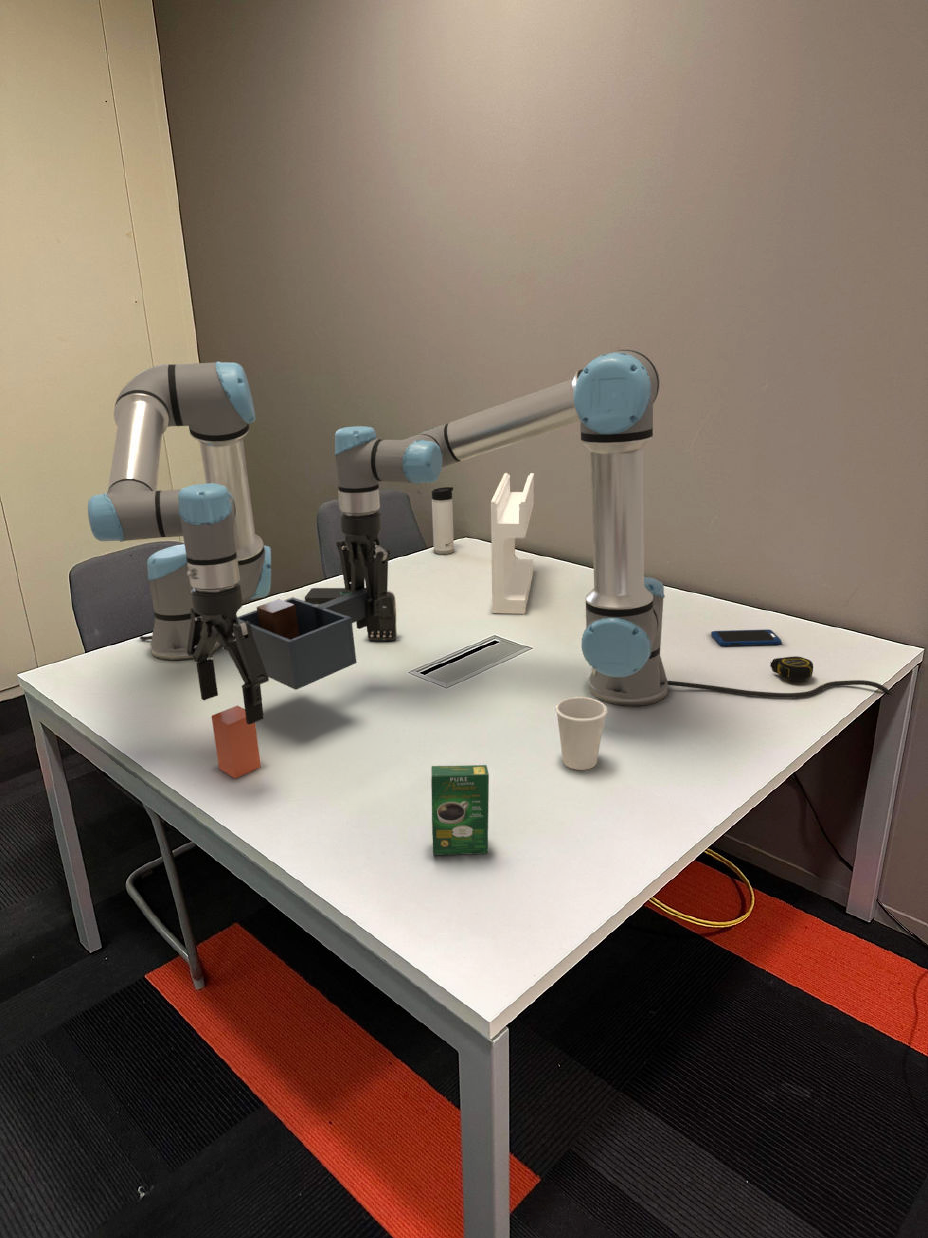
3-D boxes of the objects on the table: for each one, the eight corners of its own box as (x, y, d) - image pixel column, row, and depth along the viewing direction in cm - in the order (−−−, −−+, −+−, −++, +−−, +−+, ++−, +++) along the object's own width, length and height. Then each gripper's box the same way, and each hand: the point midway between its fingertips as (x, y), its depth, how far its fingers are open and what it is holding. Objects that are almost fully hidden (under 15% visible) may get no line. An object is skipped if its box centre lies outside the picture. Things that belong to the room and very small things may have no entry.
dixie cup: (592, 779, 138) (594, 723, 134) (546, 766, 142) (546, 712, 138) (612, 756, 144) (615, 703, 141) (567, 744, 148) (569, 692, 145)
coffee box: (488, 842, 122) (487, 762, 118) (490, 854, 120) (488, 773, 115) (432, 844, 122) (429, 764, 117) (432, 857, 119) (429, 775, 115)
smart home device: (380, 597, 219) (304, 597, 221) (380, 604, 220) (304, 603, 221) (385, 587, 227) (311, 587, 228) (386, 593, 227) (312, 593, 229)
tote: (295, 690, 147) (289, 642, 143) (239, 663, 158) (231, 618, 155) (411, 638, 165) (407, 595, 161) (352, 618, 176) (348, 577, 173)
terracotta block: (218, 768, 144) (211, 715, 140) (244, 757, 147) (237, 705, 144) (235, 778, 141) (227, 724, 137) (260, 767, 144) (254, 714, 141)
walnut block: (279, 663, 155) (272, 612, 152) (264, 656, 159) (256, 606, 155) (302, 654, 159) (295, 604, 155) (286, 647, 162) (279, 598, 158)
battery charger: (365, 642, 195) (362, 595, 191) (368, 636, 199) (365, 589, 195) (395, 642, 195) (392, 595, 191) (398, 636, 198) (395, 589, 194)
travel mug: (452, 554, 260) (450, 489, 253) (431, 553, 262) (429, 489, 254) (456, 549, 266) (455, 485, 259) (436, 548, 267) (434, 485, 260)
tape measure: (799, 669, 175) (801, 652, 174) (818, 683, 169) (820, 665, 168) (769, 672, 174) (770, 655, 173) (786, 686, 168) (788, 669, 167)
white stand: (505, 570, 244) (504, 473, 234) (533, 571, 243) (533, 473, 233) (492, 612, 211) (490, 501, 202) (524, 613, 210) (524, 501, 200)
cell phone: (782, 644, 188) (782, 641, 188) (719, 646, 188) (719, 643, 188) (770, 632, 195) (771, 629, 195) (710, 633, 195) (710, 630, 195)
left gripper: (153, 576, 138) (172, 695, 145) (239, 608, 122) (255, 740, 129) (195, 565, 143) (211, 681, 151) (282, 595, 127) (296, 723, 134)
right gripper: (403, 513, 157) (409, 632, 166) (349, 502, 167) (357, 614, 176) (372, 521, 152) (380, 643, 160) (318, 509, 162) (328, 624, 171)
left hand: (231, 709), depth 140 cm, fingers open, 13 cm apart
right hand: (368, 628), depth 168 cm, fingers closed on tote, 2 cm apart
